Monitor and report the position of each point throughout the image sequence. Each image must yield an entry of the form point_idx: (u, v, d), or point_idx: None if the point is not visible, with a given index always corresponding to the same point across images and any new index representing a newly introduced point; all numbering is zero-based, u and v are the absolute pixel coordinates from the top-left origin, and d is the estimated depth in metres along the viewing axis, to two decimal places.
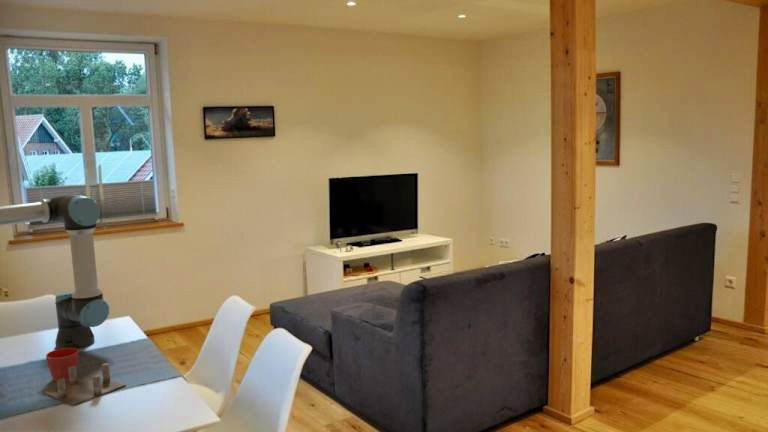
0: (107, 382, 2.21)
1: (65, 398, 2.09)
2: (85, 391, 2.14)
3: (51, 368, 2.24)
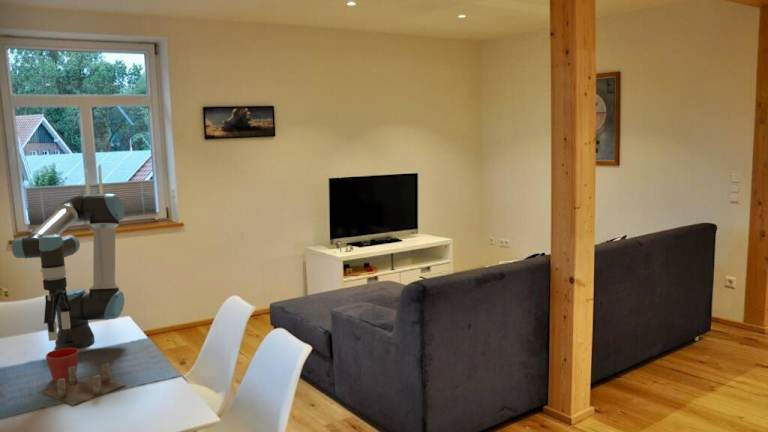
0: (107, 382, 2.21)
1: (65, 398, 2.09)
2: (85, 391, 2.14)
3: (51, 368, 2.24)
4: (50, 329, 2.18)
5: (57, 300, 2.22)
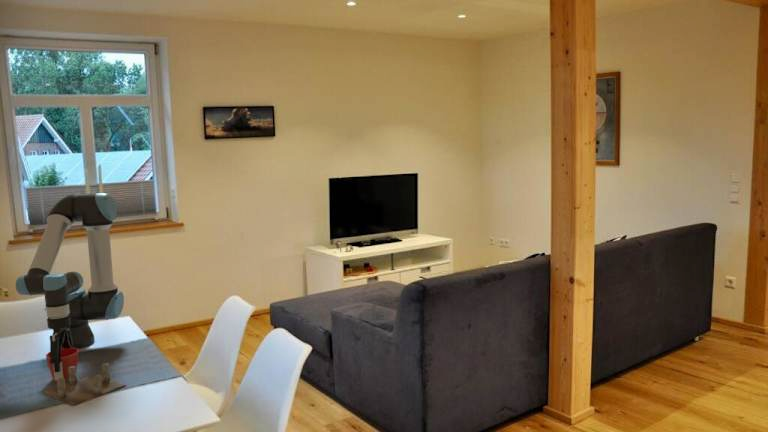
0: (107, 382, 2.21)
1: (65, 398, 2.09)
2: (85, 391, 2.14)
3: (51, 368, 2.24)
4: (56, 369, 2.21)
5: (61, 339, 2.24)
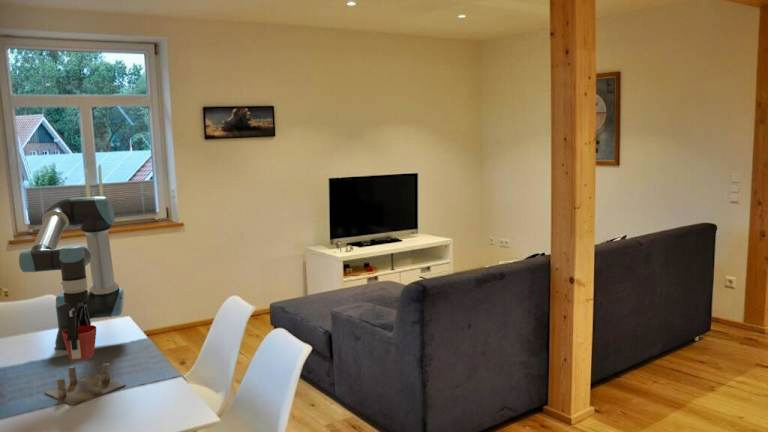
0: (107, 382, 2.21)
1: (65, 398, 2.09)
2: (85, 391, 2.14)
3: (68, 346, 2.10)
4: (73, 347, 2.07)
5: (79, 315, 2.10)
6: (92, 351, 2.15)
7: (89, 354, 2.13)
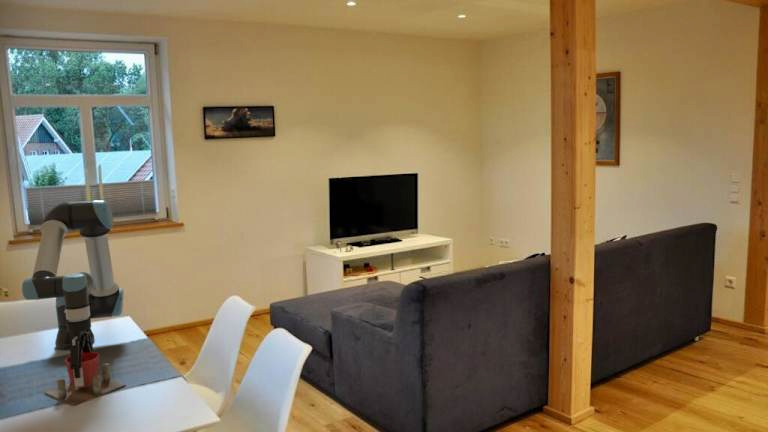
0: (107, 382, 2.21)
1: (65, 398, 2.09)
2: (85, 391, 2.14)
3: (71, 373, 2.12)
4: (76, 375, 2.09)
5: (82, 343, 2.12)
6: None
7: (92, 381, 2.15)
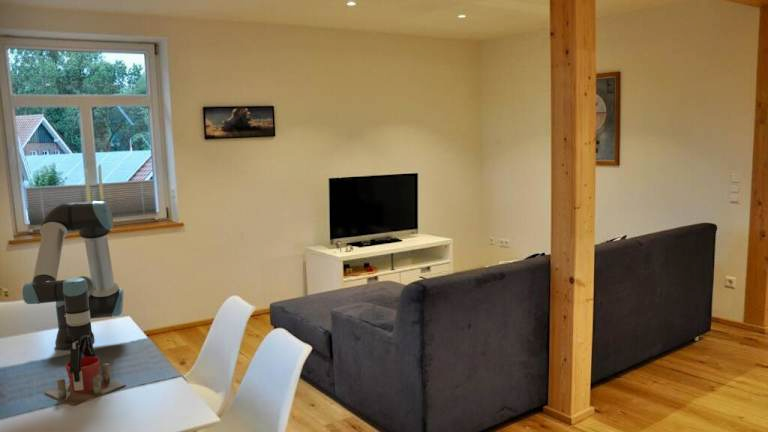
0: (107, 382, 2.21)
1: (65, 398, 2.09)
2: None
3: (71, 378, 2.12)
4: (76, 379, 2.08)
5: (82, 347, 2.12)
6: None
7: (92, 386, 2.15)
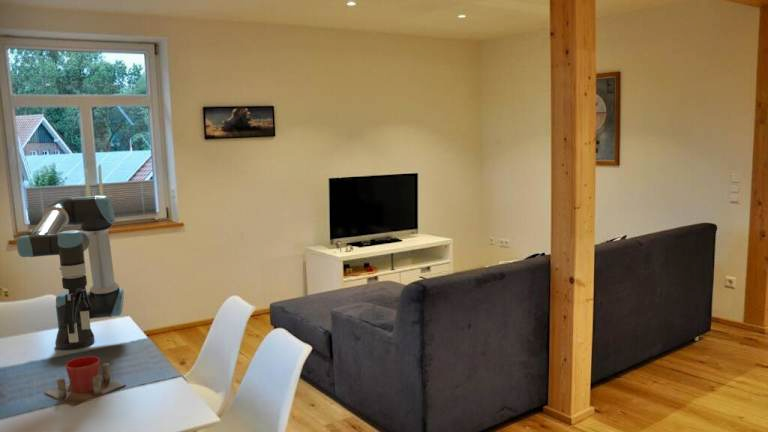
0: (107, 382, 2.21)
1: (65, 398, 2.09)
2: None
3: (71, 378, 2.12)
4: (70, 330, 2.06)
5: (77, 299, 2.10)
6: None
7: (92, 386, 2.15)
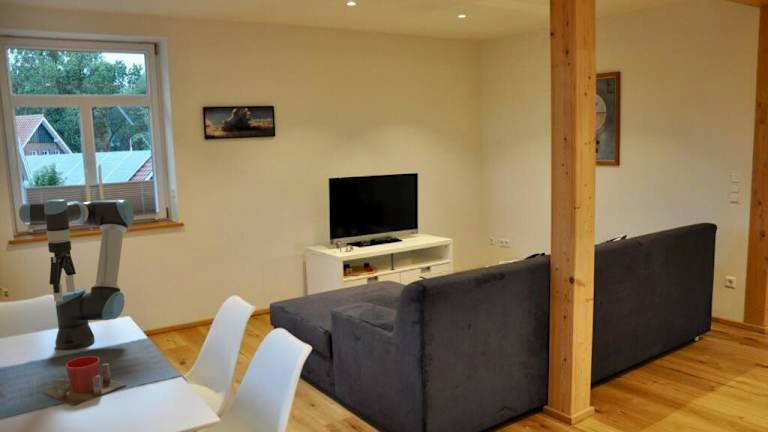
0: (107, 382, 2.21)
1: (65, 398, 2.09)
2: None
3: (71, 378, 2.12)
4: (55, 290, 2.25)
5: (62, 262, 2.29)
6: None
7: (92, 386, 2.15)
